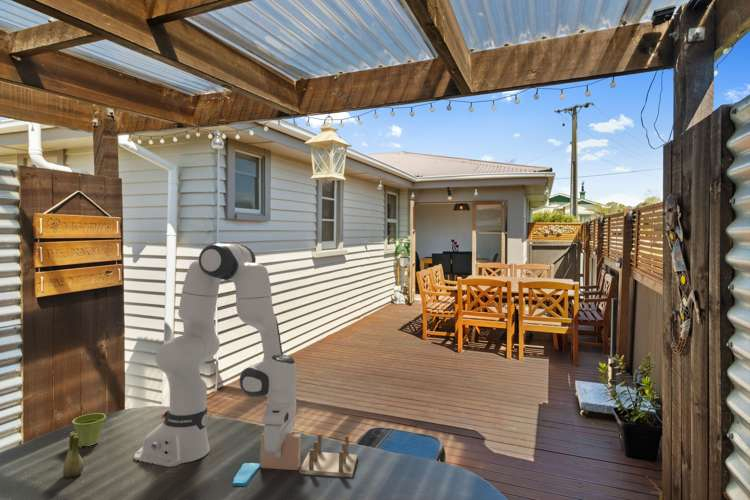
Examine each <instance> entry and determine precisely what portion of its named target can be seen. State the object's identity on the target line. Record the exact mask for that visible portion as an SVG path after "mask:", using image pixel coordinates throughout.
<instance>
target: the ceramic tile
mask: <svg viewBox="0 0 750 500" xmlns="http://www.w3.org/2000/svg"><path fill="white" fill-rule="evenodd" d="M301 442H302V433H293V432H292V433H288V434H287V435H286V438H285V441H284V442H283V443H282V446H281V450H282V455H281V457H280V458H278V457H275V452H266V451H265V449H264V431H263V432H262V433H261V434H260V448H259V449H260V451H259V452H260V454H259V455H260V456H259V464H260V468H261V469H275V470H287V471H288V470H289V471H290V470H291V471H299V470H300V468H301V448H302V447H301V446H302V445H301V444H302V443H301ZM260 468H259V469H260Z"/></svg>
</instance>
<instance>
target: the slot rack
mask: <svg viewBox="0 0 750 500" xmlns="http://www.w3.org/2000/svg"><path fill="white" fill-rule="evenodd" d="M322 440H323V434H322V433H318V434H317V440H313V448H310V449H309V451H308V453H307V455H306V456H305V459H304V461H303V463H302V464H301V465H300V467H299V470H298V473H299V474H301V475H311V476H327V477H328V476H329V477H342V478H353V475H354V473H355V467H356V464H357V461H358V454H356V453H354V454H353V453H349V452H350V451H349V449H350V448H349V447H350V434H349V435H347V434H345V435H344V442H342V443H341V450H339V451H338V453H337V452H326V451H325V452H324V451H323V452H322V449H323V448H322V447H323V446H322V444H323V442H322Z"/></svg>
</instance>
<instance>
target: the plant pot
mask: <svg viewBox="0 0 750 500" xmlns="http://www.w3.org/2000/svg"><path fill="white" fill-rule="evenodd" d="M106 417H107V416H106V414H105V413H101V412H97V413H88V414H84V415H79V416H78V417H75V418H73V420H72V421H71V422H72V424H73V426H74V428H75V434H76V433H78V437H79V443H78V445H79V446H87V445H91V444H94V443H96V442H97V441H99V442H100V440H101V433H102V428H103V424H104V422H105V419H106ZM99 439H100V440H99Z"/></svg>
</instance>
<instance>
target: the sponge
mask: <svg viewBox="0 0 750 500" xmlns="http://www.w3.org/2000/svg"><path fill="white" fill-rule="evenodd" d="M259 469H260V463H258V462H257V463H256V462H244V463H243V464H242V465H241V467H240V468H239V469H238V471H237V472H236V474H235V476H234V477H233V479H232V480H233V481H232V487H236V486H237V487H238V486H239V487H246V486H247V485H248V484H249V483H250V482H251V480H252V479H253V477H254V475H255V474H256V473H257V472H258V471H259Z"/></svg>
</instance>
